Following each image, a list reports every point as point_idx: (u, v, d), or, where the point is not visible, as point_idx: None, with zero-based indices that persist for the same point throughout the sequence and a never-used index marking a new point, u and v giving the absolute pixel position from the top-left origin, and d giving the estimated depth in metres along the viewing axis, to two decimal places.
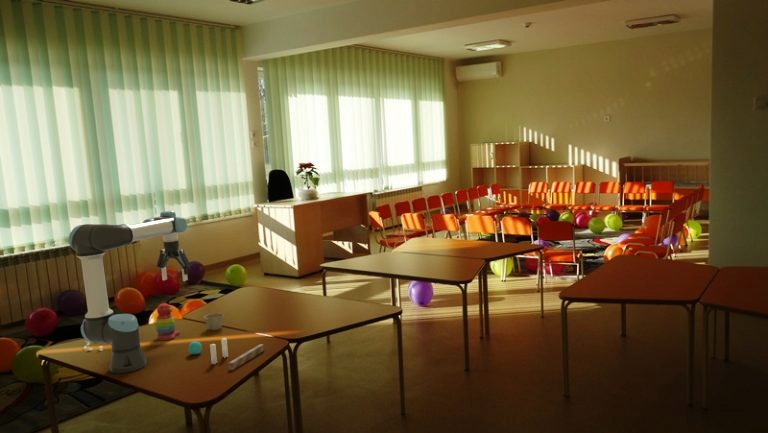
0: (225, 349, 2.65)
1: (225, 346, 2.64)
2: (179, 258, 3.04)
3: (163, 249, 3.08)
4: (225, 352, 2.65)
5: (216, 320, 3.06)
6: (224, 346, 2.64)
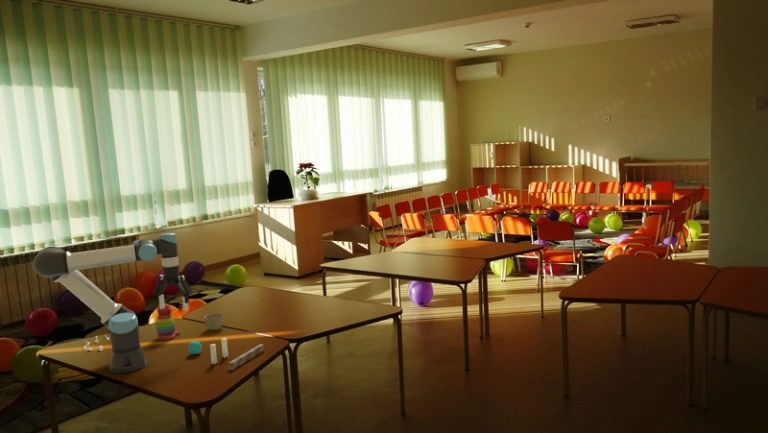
0: (225, 349, 2.65)
1: (225, 346, 2.64)
2: (180, 285, 2.76)
3: (161, 275, 2.80)
4: (225, 352, 2.65)
5: (216, 320, 3.06)
6: (224, 346, 2.64)
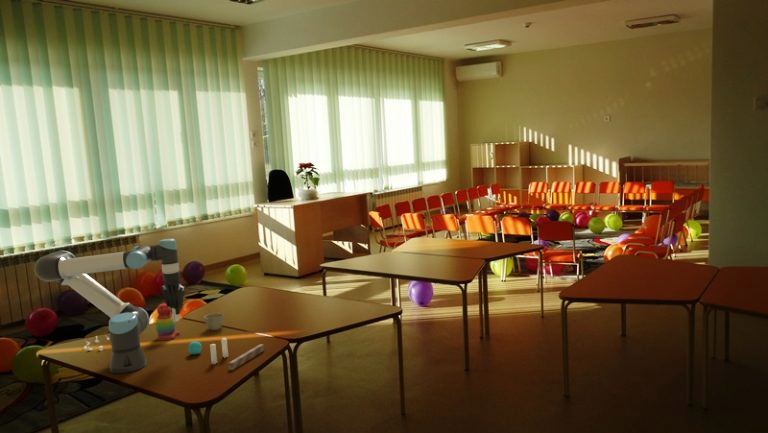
0: (225, 349, 2.65)
1: (225, 346, 2.64)
2: (176, 295, 2.72)
3: (163, 286, 2.75)
4: (225, 352, 2.65)
5: (216, 320, 3.06)
6: (224, 346, 2.64)
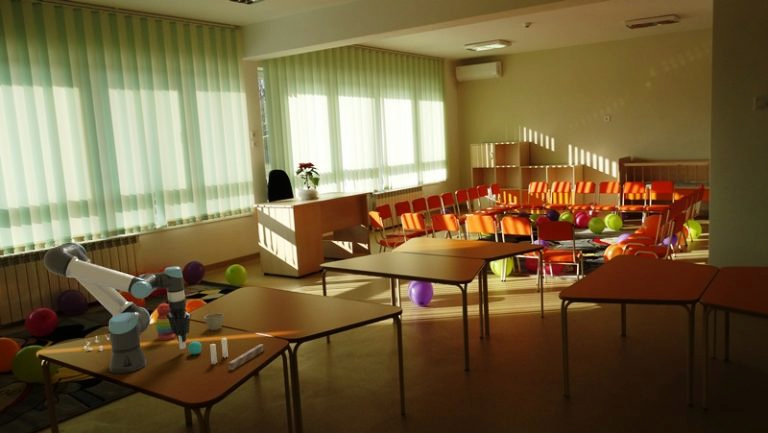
0: (225, 349, 2.65)
1: (225, 346, 2.64)
2: (182, 322, 2.73)
3: (169, 313, 2.76)
4: (225, 352, 2.65)
5: (216, 320, 3.06)
6: (224, 346, 2.64)
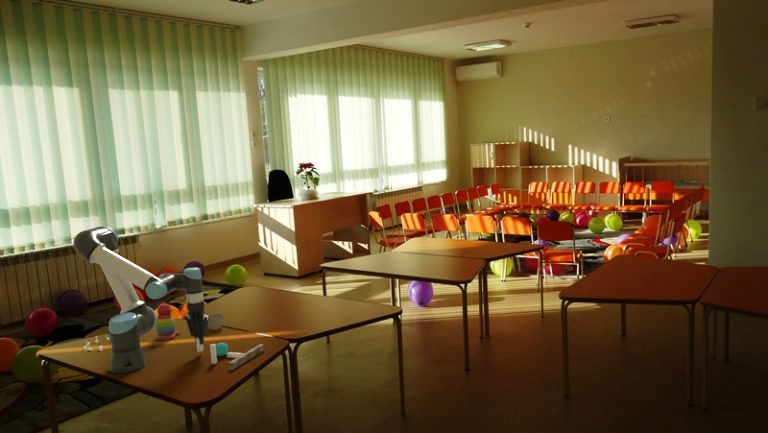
0: (234, 357, 2.63)
1: None
2: (200, 324, 2.69)
3: (187, 315, 2.72)
4: (231, 357, 2.64)
5: (216, 320, 3.06)
6: (236, 357, 2.63)
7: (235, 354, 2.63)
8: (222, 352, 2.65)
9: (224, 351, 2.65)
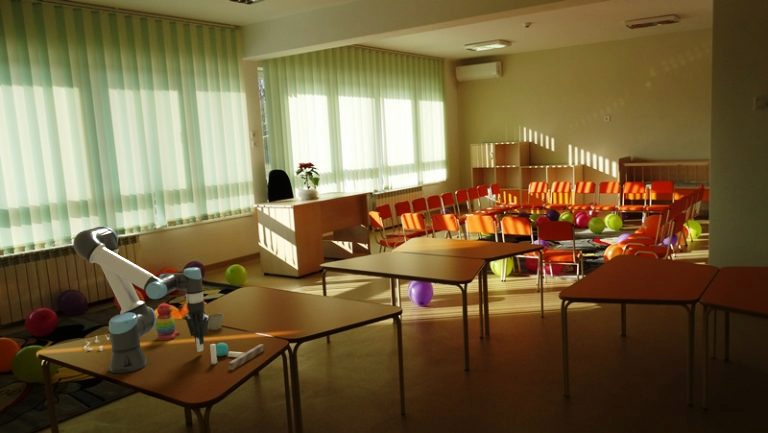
0: (235, 355, 2.64)
1: (237, 356, 2.63)
2: (200, 324, 2.69)
3: (187, 315, 2.72)
4: (232, 355, 2.64)
5: (216, 320, 3.06)
6: (237, 355, 2.63)
7: (237, 352, 2.64)
8: (222, 352, 2.65)
9: (224, 351, 2.65)
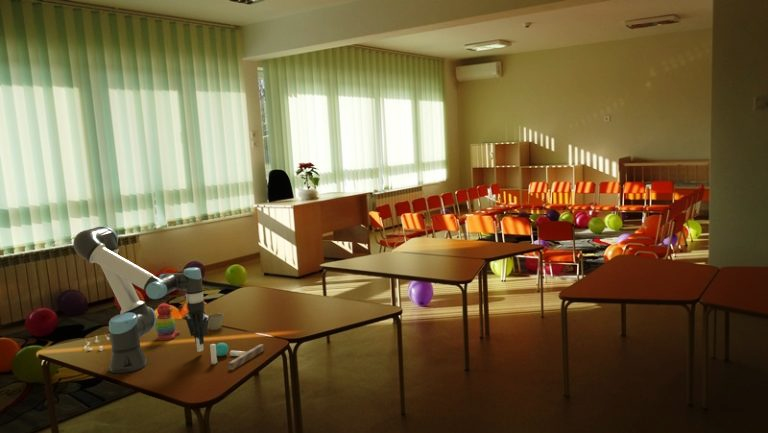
0: (237, 351, 2.65)
1: (239, 352, 2.65)
2: (200, 324, 2.69)
3: (187, 315, 2.72)
4: (234, 351, 2.66)
5: (216, 320, 3.06)
6: (240, 351, 2.65)
7: None
8: (222, 352, 2.65)
9: (224, 351, 2.65)
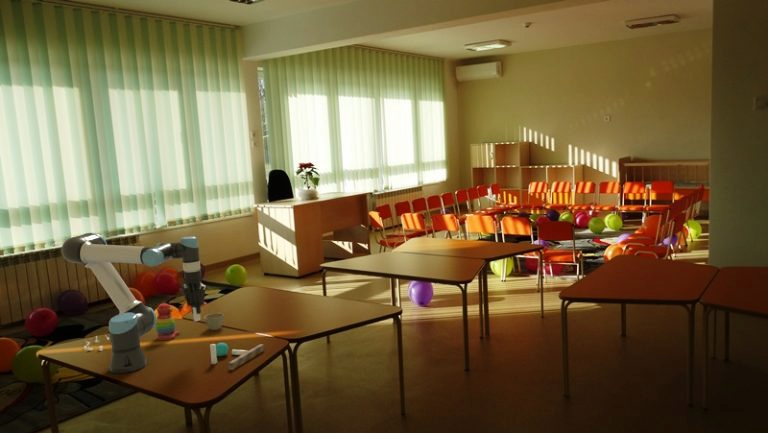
0: None
1: (243, 350, 2.67)
2: (197, 293, 2.67)
3: (184, 284, 2.70)
4: None
5: (216, 320, 3.06)
6: None
7: None
8: (222, 352, 2.65)
9: (224, 351, 2.65)
